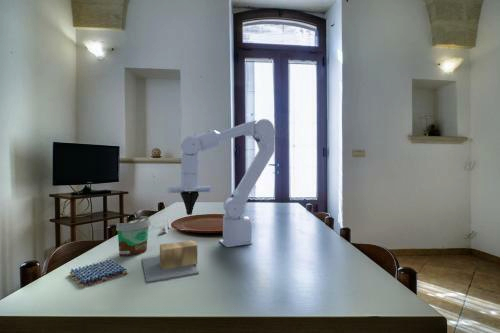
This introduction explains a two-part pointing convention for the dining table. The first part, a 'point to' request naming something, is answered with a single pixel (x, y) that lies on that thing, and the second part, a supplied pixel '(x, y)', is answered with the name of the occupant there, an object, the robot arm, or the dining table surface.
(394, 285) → the dining table surface
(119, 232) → the food container
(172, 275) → the grey rubber mat
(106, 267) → the woven mat
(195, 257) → the wood block
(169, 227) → the sunglasses
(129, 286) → the dining table surface
